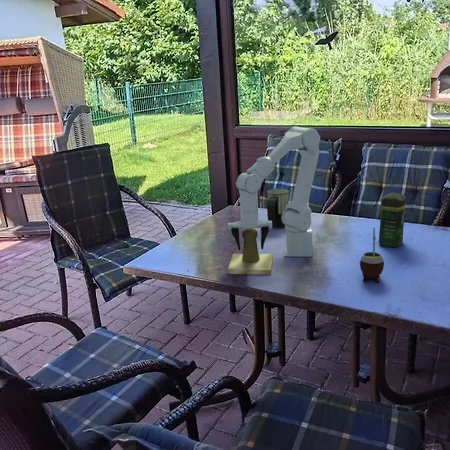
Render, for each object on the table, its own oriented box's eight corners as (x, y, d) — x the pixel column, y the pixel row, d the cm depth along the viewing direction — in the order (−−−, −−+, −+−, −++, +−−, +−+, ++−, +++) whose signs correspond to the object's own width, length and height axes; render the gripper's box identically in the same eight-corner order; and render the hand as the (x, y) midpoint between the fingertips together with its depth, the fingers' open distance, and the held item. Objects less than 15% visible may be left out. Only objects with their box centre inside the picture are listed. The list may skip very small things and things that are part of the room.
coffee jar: (398, 249, 173) (402, 198, 167) (376, 246, 177) (378, 196, 171) (405, 240, 181) (408, 192, 175) (383, 238, 185) (385, 190, 179)
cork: (259, 262, 164) (258, 231, 160) (241, 263, 164) (240, 232, 161) (259, 256, 170) (258, 226, 166) (242, 256, 170) (241, 226, 167)
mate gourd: (369, 285, 147) (371, 238, 142) (352, 276, 154) (354, 231, 149) (389, 280, 149) (392, 234, 145) (372, 271, 156) (374, 227, 152)
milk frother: (268, 222, 211) (267, 188, 206) (305, 221, 208) (305, 187, 203) (265, 232, 197) (264, 197, 193) (305, 232, 195) (305, 196, 190)
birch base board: (273, 258, 171) (273, 254, 171) (270, 274, 158) (270, 270, 158) (233, 257, 174) (233, 253, 173) (227, 273, 160) (227, 269, 160)
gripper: (270, 205, 163) (271, 243, 168) (226, 207, 164) (228, 245, 168) (272, 211, 157) (273, 251, 161) (227, 213, 157) (229, 253, 161)
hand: (250, 248), depth 164 cm, fingers open, 7 cm apart
